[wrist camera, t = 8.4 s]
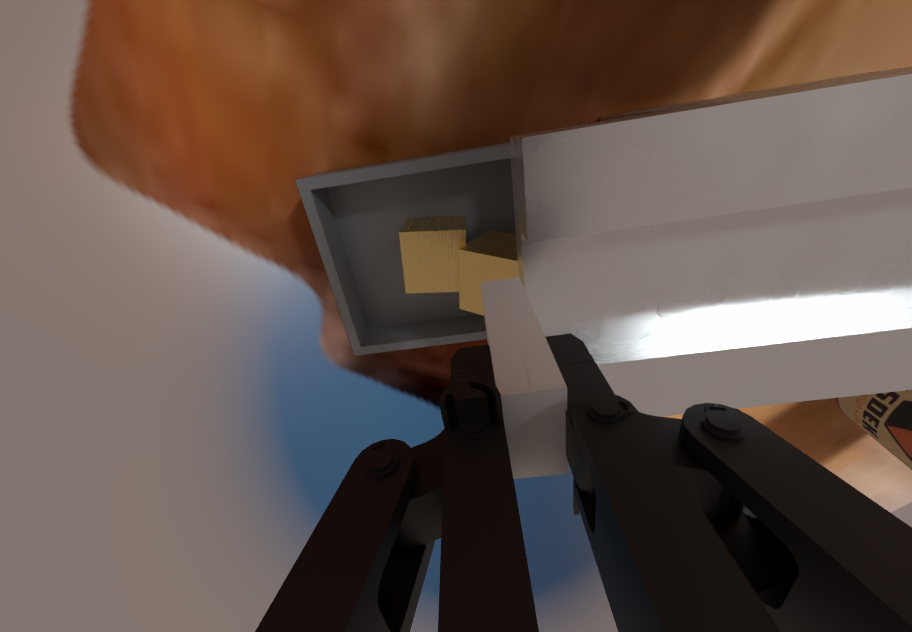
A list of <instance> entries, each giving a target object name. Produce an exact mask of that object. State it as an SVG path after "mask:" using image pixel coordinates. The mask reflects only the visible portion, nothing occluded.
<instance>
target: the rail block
mask: <svg viewBox="0 0 912 632" xmlns="http://www.w3.org/2000/svg"><path fill="white" fill-rule="evenodd" d="M509 143H510V157H511V171H512V185H513V199H514V214H515V228H516V242H517V256H518V270H519V277H520V280H521V282H522V284H523V287H524V289H525V291H526V294H527V296H528V298H529V301H530V303H531V305H532V308H533V310H534V312H535V314H536V317H537V319H538V321H539V324H540V326H541V328H542V331H543V333H544V335H545V337H546V336H554V335H562V334H570V333H571V334H572V335H574V336H576V337H577V338H579V339H580V340H582V341H583V342H584V344H585V346H586V347H587V349H588V351H589V354H591V356H592V357H593V359H594V362H596V364H597V365H598V367H599V369H600V370H601V372H602V374H603V375H604V377H605V379H606V380H607V382H608V384H609V385H610V387H611V389H612V390H613V392H614V394H615V395H619V396H621V397H622V398H624V399H626V400H628V401H630V402H631V403H632V404H633V406H634V407H635V408H636V409H637V410H638V412H641V413H644V414H648V415H653V416H659V417H660V416H669V415H679V414H684V413H685V410H686V409H687V408H689V407H691V406H693V405H695V404H702V403H714V404H722V405H725V406H729V407H732V408H745V407H754V406H764V405H773V404H782V403H792V402H801V401H811V400H820V399H830V398H839V397H849V396H858V395H867V394H877V393H886V392H896V391H905V390H912V67H905V68H898V69H891V70H884V71H877V72H870V73H864V74H858V75H852V76H846V77H840V78H834V79H828V80H822V81H816V82H810V83H804V84H798V85H792V86H786V87H780V88H774V89H767V90H761V91H755V92H749V93H743V94H737V95H731V96H725V97H719V98H713V99H707V100H701V101H695V102H689V103H683V104H677V105H671V106H665V107H659V108H652V109H646V110H640V111H634V112H628V113H622V114H616V115H610V116H604V117H600V122H594V123H588V124H582V125H576V126H570V127H564V128H558V129H552V130H546V131H540V132H533V133H527V134H521V135H515V136H509Z"/></svg>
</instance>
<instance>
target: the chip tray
mask: <svg viewBox="0 0 912 632" xmlns="http://www.w3.org/2000/svg"><path fill="white" fill-rule="evenodd" d="M295 181H296V184H297V187H298V190H299V193H300V196H301V199H302V202H303V205H304V208H305V211H306V214H307V217H308V219H309V222H310V225H311V228H312V231H313V234H314V237H315V240H316V243H317V246H318V249H319V252H320V255H321V258H322V261H323V264H324V267H325V270H326V273H327V276H328V279H329V282H330V285H331V288H332V291H333V294H334V297H335V300H336V303H337V306H338V309H339V312H340V315H341V318H342V321H343V324H344V327H345V330H346V333H347V336H348V339H349V342H350V345H351V348H352V351H353V354H354V356H357V355H365V354H373V353H381V352H389V351H397V350H405V349H413V348H421V347H429V346H437V345H445V344H453V343H461V342H469V341H477V340H485V339H487V332H486V324H485V317H484V316H483V315H480V314H476V313H473V312H469V311H466V310H462V309H460V304H459V292H437V293H407V294H406V291H405V282H404V274H403V265H402V256H401V247H400V238H399V231H400V229H401V228H402V226H403V224H404V223H405V221H406V219H407V218H417V217H443V216H465V227H466V244H468V243H469V242H471V241H472V240H474V239H475V238H477V237H479V236H480V235H482V234H483V233H485V232H486V231H488V230H494V231H501V232H507V233H513V234H516V228H515V214H514V199H513V185H512V171H511V157H510V143H509V142H507V143H501V144H494V145H488V146H482V147H476V148H470V149H464V150H458V151H452V152H445V153H439V154H433V155H427V156H421V157H415V158H409V159H403V160H396V161H390V162H384V163H378V164H372V165H366V166H360V167H354V168H347V169H341V170H335V171H329V172H323V173H317V174H313V175H310V176H306V177H303V178H299V179H296V180H295Z"/></svg>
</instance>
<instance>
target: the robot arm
mask: <svg viewBox="0 0 912 632" xmlns="http://www.w3.org/2000/svg"><path fill="white" fill-rule="evenodd" d="M480 285H481V293H482V301H483V309H484V317H485V324H486V332H487V340H488V345H484V346H476V347H468V348H460V349H458V350H457V351H456V353H455V354H454V356H453V357H452V359H451V386H449V387H448V388H447V389H446V390H445V391H444V392H443V393H442V394H441V397H440V400H439V405H440V409H441V414H442V418H443V423H444V427H445V429H444V430H443V431H442V432H441V433H440V434H439V435H437V436H436V437H435V438H433V439H432V440H429V441H427V442H425V443H423V444H420V445H418V446H415V447H412V448H410V446H408V445H407V444H406V443H405V442H403V441H400V440H396V439H389V440H382V441H379V442H376V443H373V444H371V445H370V446H369V447H367V448H366V449H364V450H363V451H362V452H361V453H360V454H359V455H358V457H357V458H356V459H355V460H354V462H353V464H352V465H351V467H350V469H349V471H348V472H347V474H346V476H345V478H344V479H343V481H342V483H341V484H340V486H339V488H338V490H337V491H336V493H335V495H334V497H333V498H332V500H331V502H330V503H329V505H328V507H327V509H326V510H325V512H324V514H323V516H322V517H321V519H320V521H319V522H318V524H317V526H316V528H315V529H314V531H313V533H312V535H311V536H310V538H309V540H308V541H307V543H306V545H305V547H304V548H303V550H302V552H301V553H300V555H299V557H298V559H297V560H296V562H295V564H294V566H293V567H292V569H291V571H290V572H289V574H288V576H287V578H286V579H285V581H284V583H283V585H282V586H281V588H280V590H279V591H278V593H277V595H276V597H275V598H274V600H273V602H272V604H271V605H270V607H269V609H268V611H267V612H266V614H265V616H264V617H263V619H262V621H261V623H260V624H259V626H258V628H257V629H256V631H255V632H410V629H411V625H412V622H413V618H414V615H415V611H416V607H417V604H418V600H419V597H420V593H421V590H422V586H423V582H424V579H425V575H426V572H427V568H428V564H429V561H430V557H431V554H432V550H433V546H434V542H435V540H437V539H439V538H441V563H440V564H441V565H440V592H439V593H440V594H439V621H438V632H539V630H538V624H537V618H536V612H535V606H534V600H533V595H532V588H531V582H530V576H529V570H528V564H527V558H526V553H525V546H524V540H523V534H522V528H521V522H520V516H519V510H518V504H517V498H516V492H515V486H514V480H513V479H518V478H528V477H538V476H548V475H558V474H567V473H568V462H569V465H570V468H571V471H572V474H573V508H574V515H576V514H579V511H580V514H581V517H582V520H583V523H584V526H585V529H586V533H587V535H588V539H589V542H590V545H591V548H592V551H593V554H594V557H595V561H596V563H597V567H598V570H599V573H600V576H601V579H602V582H603V585H604V589H605V592H606V595H607V598H608V601H609V604H610V607H611V610H612V613H613V617H614V620H615V623H616V626H617V629H618V632H912V528H911V527H910V526H908V525H907V524H906V523H904V522H903V521H901V520H900V519H898V518H897V517H895V516H894V515H893V514H891V513H890V512H888V511H887V510H885V509H884V508H882V507H881V506H880V505H878V504H877V503H875V502H874V501H872V500H871V499H869V498H868V497H867V496H865V495H864V494H862V493H861V492H859V491H858V490H856V489H855V488H854V487H852V486H851V485H849V484H848V483H846V482H845V481H843V480H842V479H841V478H839V477H838V476H836V475H835V474H833V473H832V472H830V471H829V470H828V469H826V468H825V467H823V466H822V465H820V464H819V463H817V462H816V461H815V460H813V459H812V458H810V457H809V456H807V455H806V454H804V453H803V452H802V451H800V450H799V449H797V448H796V447H794V446H793V445H791V444H790V443H788V442H787V441H786V440H784V439H783V438H781V437H780V436H778V435H777V434H775V433H774V432H773V431H771V430H770V429H768V428H767V427H765V426H764V425H762V424H761V423H760V422H758V421H757V420H755V419H754V418H752V417H751V416H749V415H747V414H745V413H743V412H742V411H740V410H738V409H735V408H732V407H729V406H725V405H722V404H714V403H702V404H695V405H693V406H691V407H689V408H687V409H686V410H685V413H684V415H683V417H682V419H676V418H668V417H659V416H653V415H648V414H644V413H641V412H638V410H637V409H636V408H635V407H634V406H633V404H632V403H631V402H630V401H628V400H626V399H624V398H622V397H621V396H619V395H615V394H614V392H613V390H612V389H611V387H610V385H609V384H608V382H607V380H606V379H605V377H604V375H603V374H602V372H601V370H600V369H599V367H598V365H597V364H596V362H594V359H593V357H592V356H591V354H589V351H588V349H587V347H586V346H585V344H584V342H583V341H582V340H580V339H579V338H577V337H576V336H574V335H572V334H571V333H570V334H562V335H554V336H546V337H545V335H544V333H543V331H542V328H541V326H540V324H539V321H538V319H537V317H536V314H535V312H534V310H533V308H532V305H531V303H530V301H529V298H528V296H527V294H526V291H525V289H524V287H523V284H522V282H521V280H520V277H516V278H509V279H502V280H495V281H488V282H480Z"/></svg>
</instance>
